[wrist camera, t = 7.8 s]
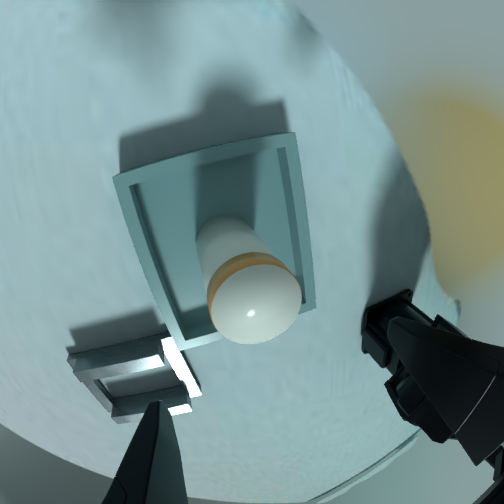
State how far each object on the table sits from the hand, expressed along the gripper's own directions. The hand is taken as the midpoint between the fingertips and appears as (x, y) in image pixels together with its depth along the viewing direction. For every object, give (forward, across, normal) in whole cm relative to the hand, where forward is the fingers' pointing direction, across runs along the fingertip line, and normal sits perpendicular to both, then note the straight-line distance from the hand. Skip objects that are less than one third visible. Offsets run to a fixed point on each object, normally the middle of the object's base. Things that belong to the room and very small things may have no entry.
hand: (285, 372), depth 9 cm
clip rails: (+12, +11, +10) cm, 19 cm away
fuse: (+11, 0, -1) cm, 11 cm away
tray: (+12, 0, -1) cm, 12 cm away
